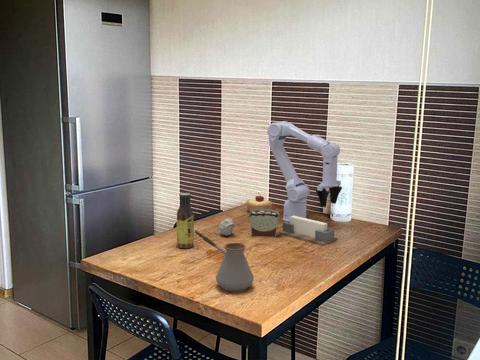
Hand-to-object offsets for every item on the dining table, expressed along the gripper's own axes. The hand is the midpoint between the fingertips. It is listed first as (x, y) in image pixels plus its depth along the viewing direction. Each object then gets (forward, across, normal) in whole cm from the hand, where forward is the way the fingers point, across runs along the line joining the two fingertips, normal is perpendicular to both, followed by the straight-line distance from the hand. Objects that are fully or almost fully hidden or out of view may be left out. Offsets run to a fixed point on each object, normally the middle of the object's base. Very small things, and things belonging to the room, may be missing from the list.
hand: (328, 204), depth 221 cm
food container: (+10, -27, +12) cm, 31 cm away
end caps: (+9, -17, -2) cm, 20 cm away
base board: (+9, -17, -2) cm, 20 cm away
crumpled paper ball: (+10, -38, +22) cm, 45 cm away
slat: (+9, -17, -2) cm, 19 cm away
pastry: (+10, -2, +36) cm, 37 cm away
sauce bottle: (+10, -58, +24) cm, 63 cm away
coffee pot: (+10, -73, -10) cm, 74 cm away
